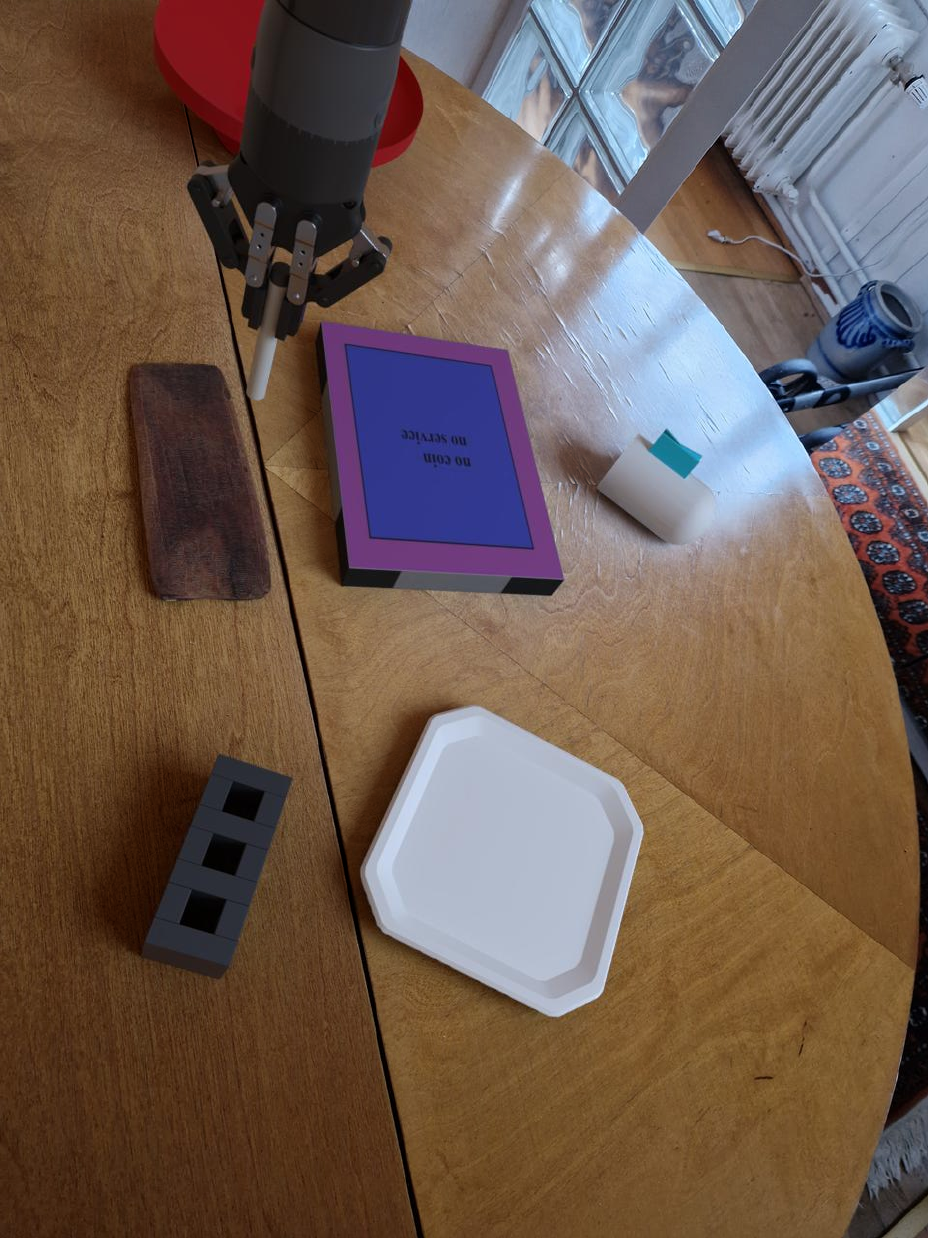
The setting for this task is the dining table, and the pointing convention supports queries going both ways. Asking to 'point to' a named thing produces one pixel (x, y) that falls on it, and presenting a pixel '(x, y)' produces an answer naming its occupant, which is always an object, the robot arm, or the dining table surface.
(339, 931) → the dining table surface
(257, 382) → the stylus
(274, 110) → the robot arm
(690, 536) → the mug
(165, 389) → the wooden tablet
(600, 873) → the plate
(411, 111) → the bowl
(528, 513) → the book
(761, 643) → the dining table surface
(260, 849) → the pen block
